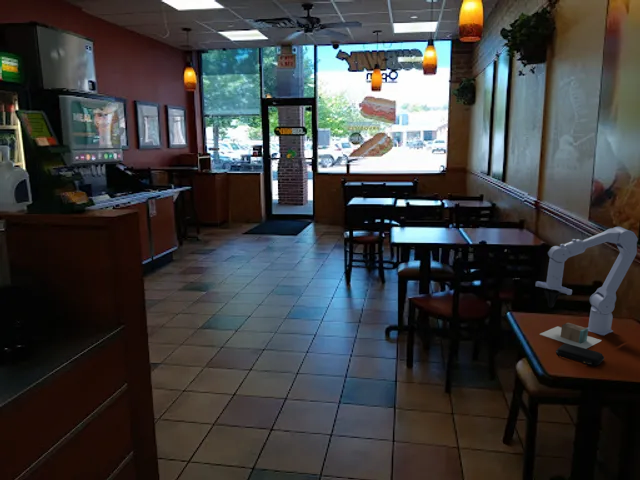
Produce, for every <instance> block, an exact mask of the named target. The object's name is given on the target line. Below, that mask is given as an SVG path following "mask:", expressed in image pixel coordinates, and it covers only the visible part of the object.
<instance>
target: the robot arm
mask: <svg viewBox="0 0 640 480" xmlns="http://www.w3.org/2000/svg"><path fill="white" fill-rule="evenodd" d="M638 240H639V238H638V237H637V235H636V234H635V231H632V230H630V229H629V230H628V229H626V228H624V227H622V226H615V227H613V228H612V227H611V228H608V229H606V230H605V231H602V232H600V233H598V234H597V233H596V234H594V235H593V236H591V237H587V238H585V239H583V240H582V239H580V238H577V239H575V238H572V239H571V241H569V242H566V243H560V244H559V246H558V245H554V246H552V247H550V248H549V250H548V251H547V255H548V257H549V260H548V261H549V262H548V267H547V275H546V281H539V280H537V281H535V287H539V288H543V289H544V291H543V293H544V295H545V297H546V300H547V307H548V308H554V306H555V304H556V302H557V301H558V298H559V297H560V296H561V294H566V295H567V296H571V295H572V294H573V289H570V288H567V287H565V286H562V284H563V277H564V269H565V262H566V261H567V260H568V259H569V258H572V257H575V256H577V255H580V254H583V253H585V251H586V249H588V248H591V247H594V246H598V245H601V244H604V243H611V244H615V245H616V246H617V249H618V251H619V254H618V256H617V258H616V259H615V260H614V263H613V265H612V266H611V269H610V271H609V273H608V274H607V276H606V278H605V280H604V282H603V284H602V286H600V287H598V288H597V289H596V291H595V292H594V293H592V294H591V295H590V297H589V303H590V305H591V307H590V312H589V320H588V327H587V328H588V332H591V333H594V334H597V335H600V336H605V335H608V334H610V333H613V332H614V330H612V324H613V317H614V316H613V313H612V312H613V311H614V310H615V306H616V301H617V294H616V292H617V291H618V289H619V288H620V285H621V284H622V282H623V280H624V278H625V277H626V274H627V272H628V271H629V269H630V267H631V265H632V263H633V261H634V259H635V258H636V256H637V253H638V248H637V245H638V244H637V243H638Z"/></svg>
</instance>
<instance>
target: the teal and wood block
mask: <svg viewBox="0 0 640 480" xmlns="http://www.w3.org/2000/svg"><path fill="white" fill-rule="evenodd" d="M561 328H562V329H561V336H560V337H562V338H565V339H568V340H571V341H574V342H577V343H580V344H581V343H583V342H585V341H587V336H589V335H588V333H589V331H588V327H583V326H581V325H578V324H575V323H570V322H565V323H563V324H562V325H561Z"/></svg>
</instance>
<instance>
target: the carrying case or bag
mask: <svg viewBox="0 0 640 480" xmlns="http://www.w3.org/2000/svg"><path fill="white" fill-rule="evenodd" d="M555 353H556V354H557V355H558V357H561V358H565V359H569V360H572V361H577V362H581V363H582V364H585V365H589V366H591V367H592V366H593V367H597V366H598V365H601V363H602V362H603V361H604V360H605V356H604V355H603V354H602V352H598V351H595V350H591V349H588V348H587V349H585V348H581V347H578V346H574V345H570V344H567V343H564V344H562V345H560V346H559V347H558V348H556V350H555Z"/></svg>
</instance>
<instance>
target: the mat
mask: <svg viewBox="0 0 640 480" xmlns="http://www.w3.org/2000/svg"><path fill="white" fill-rule="evenodd" d="M561 329H562V326H555V327H552V328H550V329H548V330H545V331H544V332H541V333H539V335H540V336H543V337H546V338H549V339H552V340H555V341H557V342H561V343H564V344H570V345H574V346H578V347H581V348H585V349H588V348H590V347H592V346H595V345H596V344H598V343H600V342H602V339H598V338H595V337H593V336H589V335H587V341H585V342H583V343H581V344H580V343H577V342H574V341H571V340H568V339H565V338H562V337H560V336H561Z"/></svg>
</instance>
